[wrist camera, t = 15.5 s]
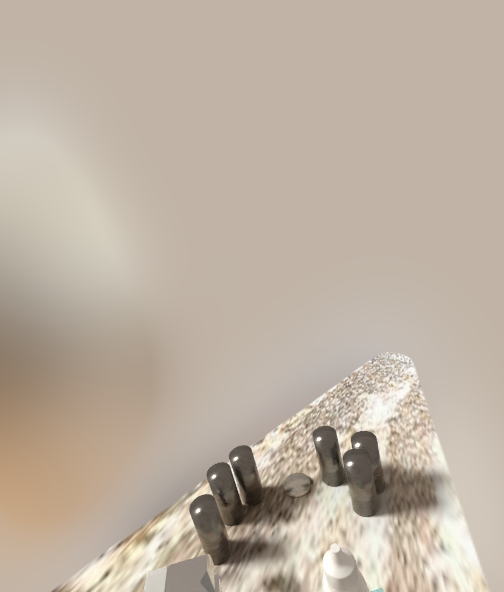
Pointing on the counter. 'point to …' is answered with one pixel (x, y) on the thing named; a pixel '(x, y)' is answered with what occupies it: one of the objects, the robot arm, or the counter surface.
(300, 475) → the grey flat disc
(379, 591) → the pad
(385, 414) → the counter surface
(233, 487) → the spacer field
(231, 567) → the counter surface
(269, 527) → the counter surface
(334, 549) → the eye dropper bottle
